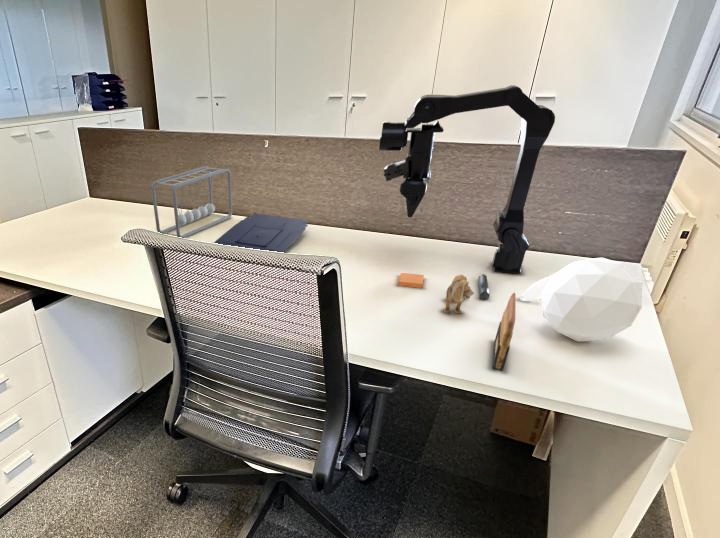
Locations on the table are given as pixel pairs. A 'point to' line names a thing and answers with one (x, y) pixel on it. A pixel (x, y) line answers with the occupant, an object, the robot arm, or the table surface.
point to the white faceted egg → (589, 299)
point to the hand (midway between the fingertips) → (411, 212)
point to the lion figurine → (457, 293)
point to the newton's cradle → (195, 213)
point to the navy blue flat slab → (264, 232)
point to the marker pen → (483, 287)
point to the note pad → (411, 280)
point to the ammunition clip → (504, 335)
